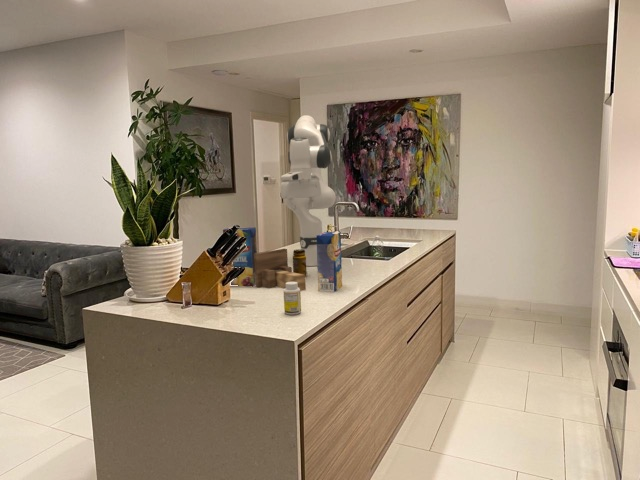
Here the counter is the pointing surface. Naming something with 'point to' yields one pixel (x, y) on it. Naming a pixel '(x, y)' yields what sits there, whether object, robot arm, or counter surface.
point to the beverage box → (329, 261)
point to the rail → (289, 279)
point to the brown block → (269, 266)
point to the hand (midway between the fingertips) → (302, 208)
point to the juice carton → (246, 257)
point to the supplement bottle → (292, 298)
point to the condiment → (299, 262)
